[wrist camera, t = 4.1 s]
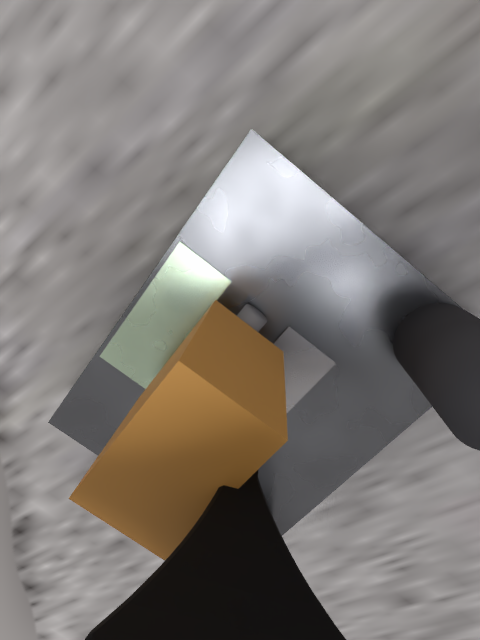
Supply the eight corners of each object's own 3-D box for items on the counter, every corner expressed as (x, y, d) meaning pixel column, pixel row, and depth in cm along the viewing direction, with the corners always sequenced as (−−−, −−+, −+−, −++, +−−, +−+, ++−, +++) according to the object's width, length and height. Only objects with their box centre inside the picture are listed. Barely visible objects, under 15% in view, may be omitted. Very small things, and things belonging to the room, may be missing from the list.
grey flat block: (470, 322, 16) (505, 345, 13) (256, 517, 20) (254, 561, 18) (255, 140, 14) (251, 128, 12) (76, 394, 19) (47, 423, 16)
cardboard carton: (287, 332, 14) (296, 432, 8) (203, 427, 16) (158, 566, 10) (226, 284, 14) (186, 351, 8) (146, 386, 15) (62, 505, 9)
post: (494, 336, 13) (596, 399, 9) (432, 390, 14) (498, 471, 10) (436, 286, 13) (514, 328, 9) (376, 345, 14) (420, 409, 10)
